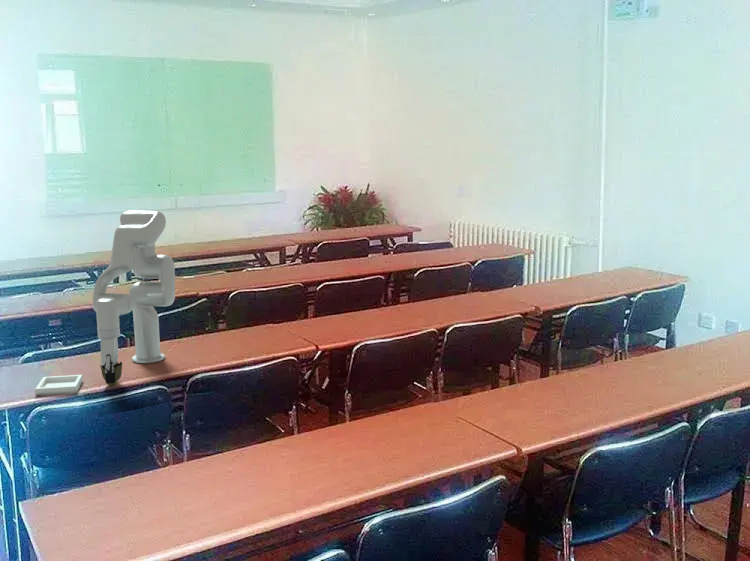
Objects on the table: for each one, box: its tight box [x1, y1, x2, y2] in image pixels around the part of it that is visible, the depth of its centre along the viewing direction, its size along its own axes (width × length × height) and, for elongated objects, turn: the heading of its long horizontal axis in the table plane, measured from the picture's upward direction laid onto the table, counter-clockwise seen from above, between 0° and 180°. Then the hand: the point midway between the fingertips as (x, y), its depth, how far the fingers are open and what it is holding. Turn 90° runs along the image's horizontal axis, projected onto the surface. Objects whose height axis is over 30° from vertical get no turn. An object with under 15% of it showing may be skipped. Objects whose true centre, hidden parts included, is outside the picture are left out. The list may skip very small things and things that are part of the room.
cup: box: [100, 360, 123, 387], centre depth 272 cm, size 8×7×8 cm
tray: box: [34, 374, 84, 396], centre depth 269 cm, size 13×13×2 cm
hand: (112, 379), depth 273 cm, fingers open, 8 cm apart
